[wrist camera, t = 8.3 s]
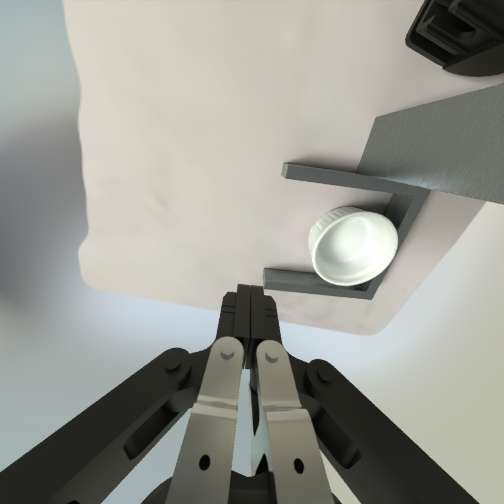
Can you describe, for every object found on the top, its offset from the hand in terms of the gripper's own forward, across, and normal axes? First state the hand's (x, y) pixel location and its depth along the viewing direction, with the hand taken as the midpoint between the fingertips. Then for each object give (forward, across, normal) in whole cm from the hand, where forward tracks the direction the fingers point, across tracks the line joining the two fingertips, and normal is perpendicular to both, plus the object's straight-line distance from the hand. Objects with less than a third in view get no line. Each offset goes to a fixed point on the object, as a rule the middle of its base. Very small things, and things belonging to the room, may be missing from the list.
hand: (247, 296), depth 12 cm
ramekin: (+14, -12, +1) cm, 18 cm away
